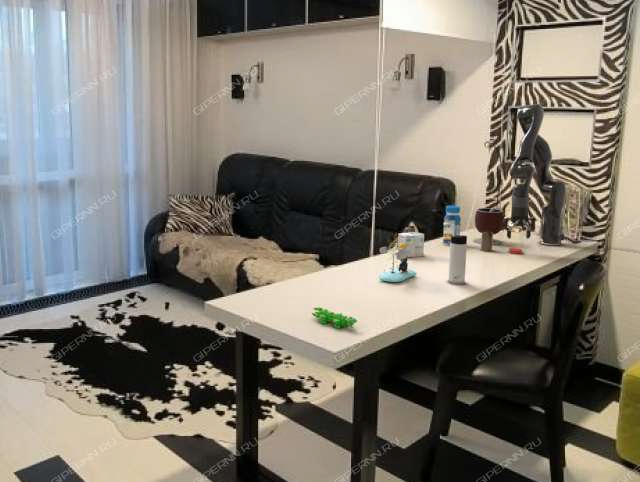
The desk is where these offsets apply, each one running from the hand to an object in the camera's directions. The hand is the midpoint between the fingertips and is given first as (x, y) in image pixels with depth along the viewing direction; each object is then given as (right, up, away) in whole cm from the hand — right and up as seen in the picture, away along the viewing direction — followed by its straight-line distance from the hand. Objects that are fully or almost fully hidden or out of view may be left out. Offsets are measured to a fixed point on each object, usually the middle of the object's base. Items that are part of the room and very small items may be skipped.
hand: (518, 238), depth 295 cm
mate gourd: (-5, -4, +24) cm, 25 cm away
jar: (-13, -6, +7) cm, 16 cm away
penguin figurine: (-70, -15, -40) cm, 82 cm away
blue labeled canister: (-26, -4, +20) cm, 33 cm away
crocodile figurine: (-105, -24, -92) cm, 141 cm away
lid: (-1, -6, +1) cm, 6 cm away
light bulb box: (-53, -8, -2) cm, 54 cm away
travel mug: (-47, -16, -47) cm, 69 cm away
